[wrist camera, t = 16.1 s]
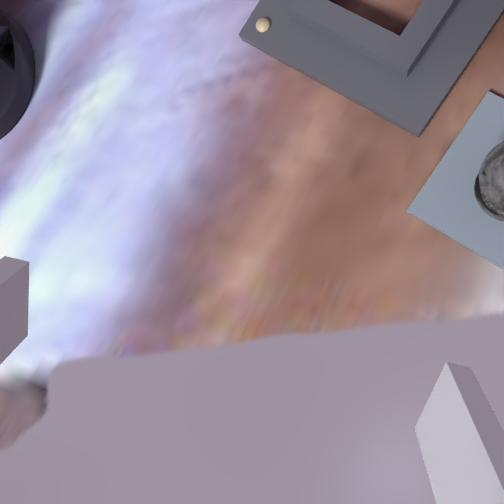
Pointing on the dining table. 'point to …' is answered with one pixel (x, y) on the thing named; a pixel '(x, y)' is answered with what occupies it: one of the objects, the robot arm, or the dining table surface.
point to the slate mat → (466, 185)
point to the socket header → (376, 51)
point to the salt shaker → (491, 183)
